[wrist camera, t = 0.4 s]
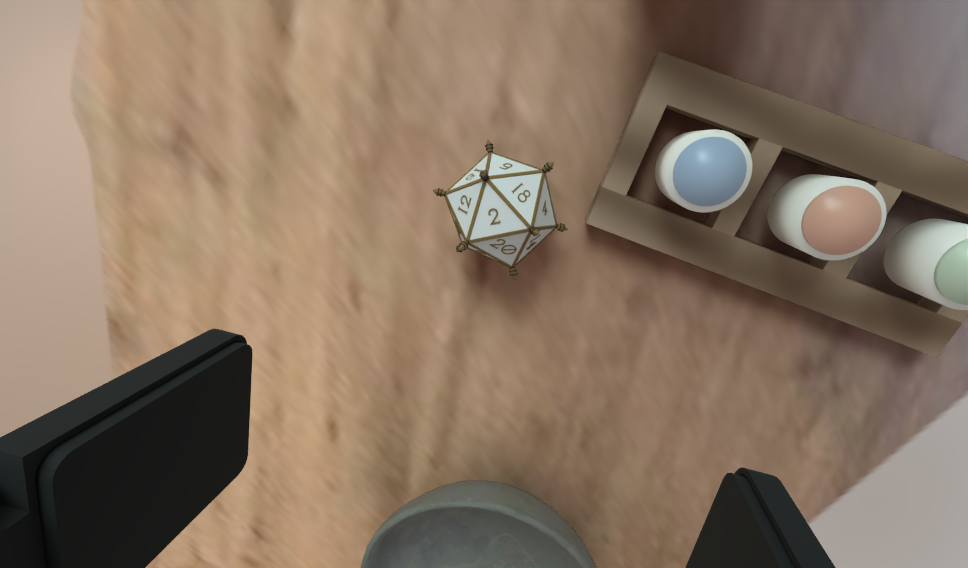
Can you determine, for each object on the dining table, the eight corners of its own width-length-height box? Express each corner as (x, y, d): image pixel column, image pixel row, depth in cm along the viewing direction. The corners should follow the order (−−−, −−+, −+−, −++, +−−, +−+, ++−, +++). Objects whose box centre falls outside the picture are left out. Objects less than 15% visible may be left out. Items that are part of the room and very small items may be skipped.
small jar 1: (674, 120, 31) (690, 117, 27) (744, 146, 31) (770, 146, 27) (642, 189, 33) (652, 196, 29) (708, 214, 33) (728, 224, 29)
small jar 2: (791, 163, 31) (825, 166, 27) (863, 189, 31) (908, 196, 27) (753, 231, 32) (779, 244, 28) (821, 257, 32) (858, 273, 28)
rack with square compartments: (655, 56, 33) (660, 51, 31) (1030, 191, 31) (1060, 194, 29) (585, 219, 37) (586, 223, 35) (916, 345, 35) (936, 357, 33)
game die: (536, 195, 40) (614, 235, 32) (463, 263, 40) (523, 320, 32) (481, 108, 35) (557, 130, 27) (395, 186, 35) (447, 232, 27)
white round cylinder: (912, 207, 30) (965, 217, 26) (986, 234, 30) (1051, 248, 26) (867, 274, 32) (911, 293, 28) (937, 300, 32) (992, 323, 28)
